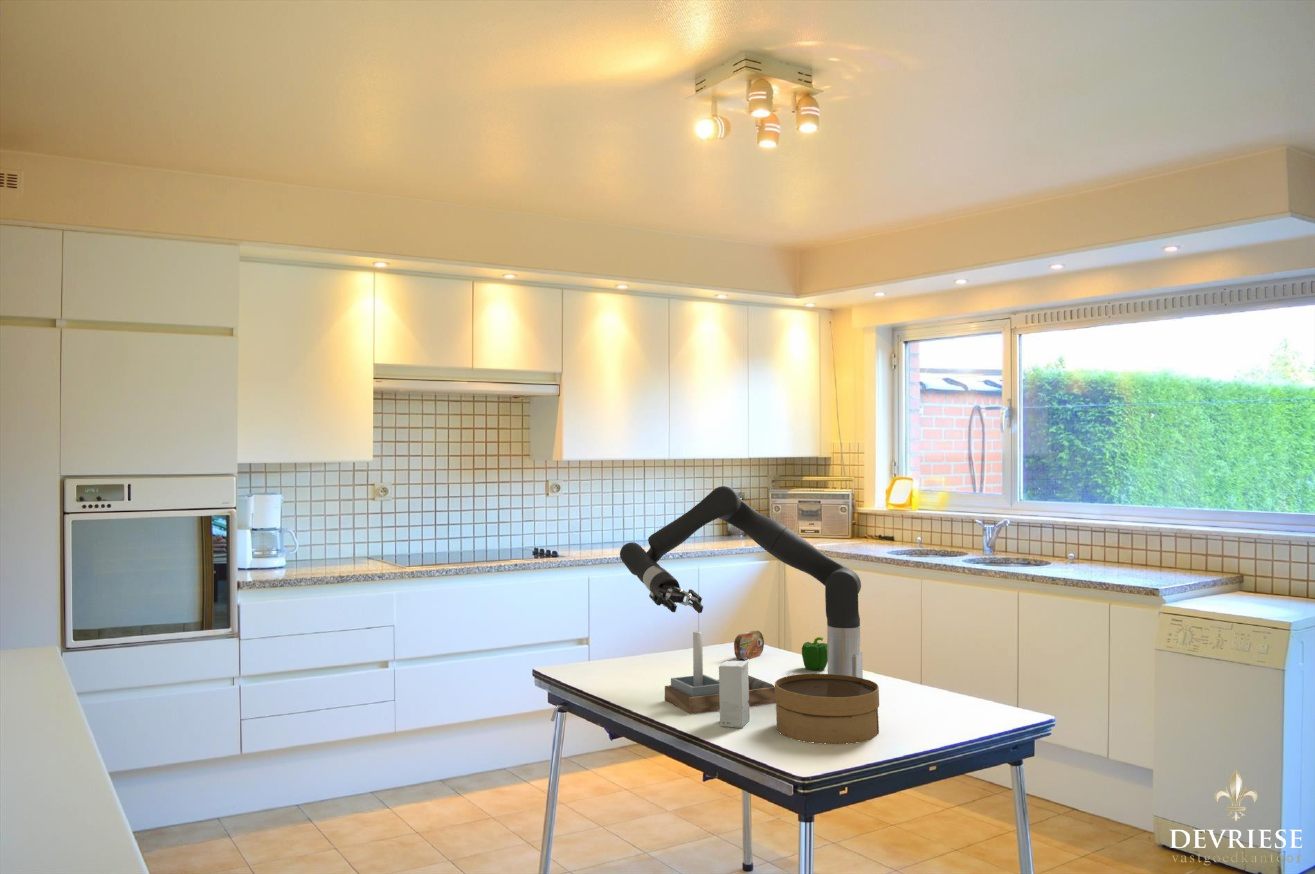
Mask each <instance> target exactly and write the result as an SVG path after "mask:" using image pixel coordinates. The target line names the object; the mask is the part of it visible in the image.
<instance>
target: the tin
mask: <svg viewBox="0 0 1315 874" xmlns="http://www.w3.org/2000/svg"><path fill="white" fill-rule="evenodd" d="M764 644H765V641H764V635H763V634H762V632H761V631H760V630H750V631H747V632H743V633H740V634H738V635H736V637H735V639H734V641H733V651H734V655H735V657H736V658H737V659H738V660H739V661H749V660H751V659H754V658H758V657H760V656H761V655H762V653H763V652H764V648H765V645H764ZM748 659H749V660H748Z"/></svg>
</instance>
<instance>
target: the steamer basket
mask: <svg viewBox="0 0 1315 874" xmlns="http://www.w3.org/2000/svg"><path fill="white" fill-rule="evenodd" d="M774 687H775V702H776V703H775V704H776V707H775V708H776V712H775V713H776V731H777V732H778V733H779V734H780V733H781V734H780V735H782V736H784V737H786V738H789V739H791V738H792V740H794V739H795V741H798V740H800V741H799V742H803V741H805V742H804V743H809V742H814V743H813V744H817V743H822V744H821V745H850V743H853V744H857V743H856V742H860V743H865V742H868V741H870V740H873V739H875V737H877V736H878V735H879V733H880V727H879V726H880V725H879V707H880V689H879V688H880V687H879V685H878V684H877V683H876V682H874V681H872V680H870V679H865V678H864V677H863V678H858V677H853V676H846V675H836V674H828V673H803V674H802V673H800V674H792V675H787V676H783V677H780V678H778V679H777V680H776V681H775V682H774ZM867 740H868V741H867ZM824 743H826V744H824ZM846 743H848V744H846Z"/></svg>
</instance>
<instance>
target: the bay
mask: <svg viewBox="0 0 1315 874" xmlns="http://www.w3.org/2000/svg"><path fill="white" fill-rule="evenodd" d="M717 680H718V681H719V679H717ZM748 681H749V707H751V706H752V707H753V706H760V705H767V704H776V702H775V684H773V683H770V682H767V681H765V680H763V679H759V678H757V677H754V676H752V675H749V674H748ZM664 702H667V703H669V704H670V705H672V706H675V707H676V708H678V709H680V710H682V711H683V712H686V713H689V714H690V713H691V714H692V713H693V714H699V713H707V712H715V711H720V699H719V694H712V695H704V696H696V697H691V696H689V695H686V694H684V693H682V692H680V691H678V690H676V689H674V688H671V684H670V685H664ZM691 714H690V715H691Z"/></svg>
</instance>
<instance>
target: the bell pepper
mask: <svg viewBox="0 0 1315 874" xmlns="http://www.w3.org/2000/svg"><path fill="white" fill-rule="evenodd" d="M823 640H824V637H822V636H817V637H816V638H814V640H813V642H810V641H806V642H804V643H803V645H802V647H801V655H802V656H801V657H802V662H803V665H804V668H805V670H808V671H816V670H817V671H821V670H822V671H823V670H825V669H826V667H827V666H828V663H827V643H825V642H823ZM818 641H821V643H820V642H818Z"/></svg>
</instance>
